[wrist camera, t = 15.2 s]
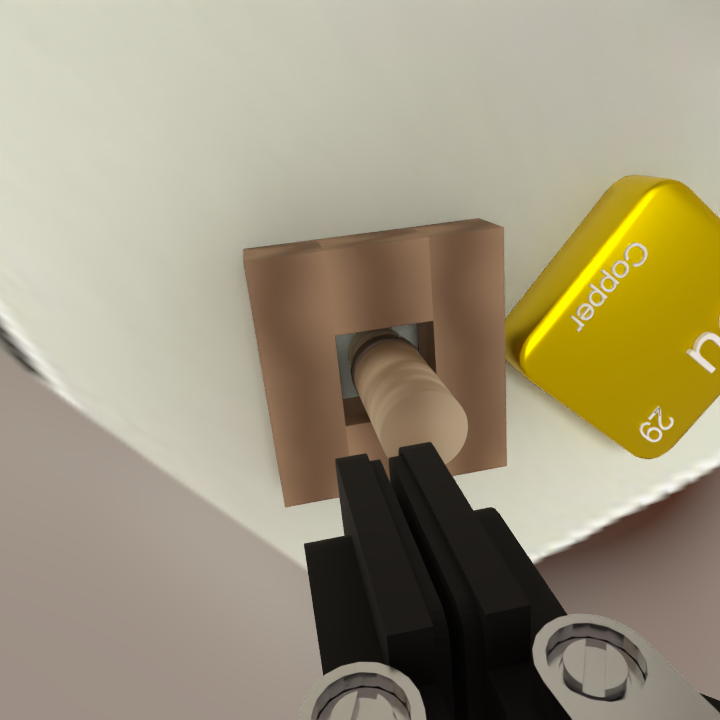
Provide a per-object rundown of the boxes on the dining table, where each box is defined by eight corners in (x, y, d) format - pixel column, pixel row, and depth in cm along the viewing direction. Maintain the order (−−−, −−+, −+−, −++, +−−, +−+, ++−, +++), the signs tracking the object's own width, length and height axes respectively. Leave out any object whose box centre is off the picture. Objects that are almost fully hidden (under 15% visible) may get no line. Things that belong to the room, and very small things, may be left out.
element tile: (626, 161, 40) (673, 164, 36) (756, 287, 45) (812, 304, 41) (482, 342, 43) (510, 367, 38) (620, 442, 48) (659, 474, 43)
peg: (406, 315, 40) (467, 383, 29) (410, 377, 42) (470, 464, 31) (339, 325, 40) (375, 399, 29) (346, 387, 42) (384, 480, 30)
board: (478, 218, 39) (503, 227, 35) (484, 438, 45) (506, 465, 41) (243, 249, 37) (243, 262, 33) (281, 475, 43) (285, 507, 39)
